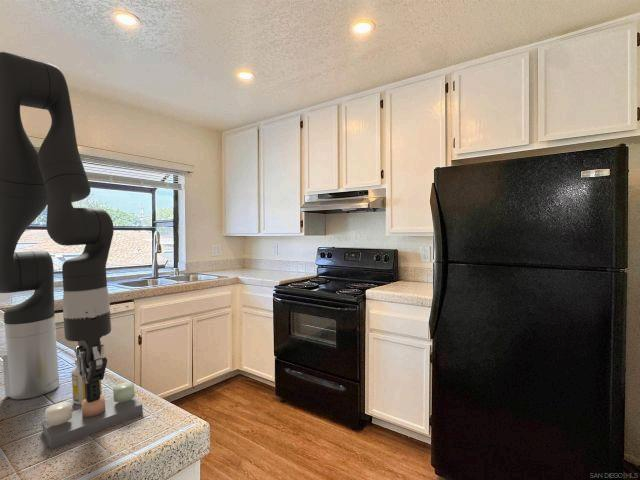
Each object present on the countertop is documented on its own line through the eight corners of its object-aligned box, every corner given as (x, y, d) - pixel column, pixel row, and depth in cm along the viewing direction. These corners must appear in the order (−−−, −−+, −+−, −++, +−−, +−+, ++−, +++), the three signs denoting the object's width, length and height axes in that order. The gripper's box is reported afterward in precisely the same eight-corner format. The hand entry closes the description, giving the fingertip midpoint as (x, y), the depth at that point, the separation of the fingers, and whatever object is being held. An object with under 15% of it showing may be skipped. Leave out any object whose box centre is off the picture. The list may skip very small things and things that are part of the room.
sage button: (109, 402, 71) (109, 390, 71) (120, 393, 75) (119, 382, 75) (128, 401, 71) (127, 390, 71) (138, 392, 75) (137, 381, 75)
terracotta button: (77, 417, 67) (76, 404, 67) (90, 407, 71) (90, 395, 71) (97, 416, 67) (96, 404, 67) (109, 406, 71) (108, 394, 71)
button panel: (51, 449, 61) (50, 438, 61) (42, 432, 67) (42, 421, 67) (142, 413, 72) (142, 404, 72) (128, 401, 77) (128, 392, 77)
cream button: (40, 426, 63) (40, 413, 63) (56, 414, 67) (56, 402, 67) (62, 425, 63) (61, 412, 63) (76, 414, 67) (76, 401, 67)
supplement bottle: (68, 406, 76) (65, 362, 76) (82, 394, 82) (79, 353, 81) (94, 404, 77) (91, 360, 77) (106, 392, 82) (104, 351, 82)
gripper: (56, 311, 70) (62, 397, 71) (72, 321, 61) (78, 420, 62) (99, 303, 76) (104, 383, 76) (120, 312, 66) (125, 403, 67)
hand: (93, 400), depth 69 cm, fingers closed
